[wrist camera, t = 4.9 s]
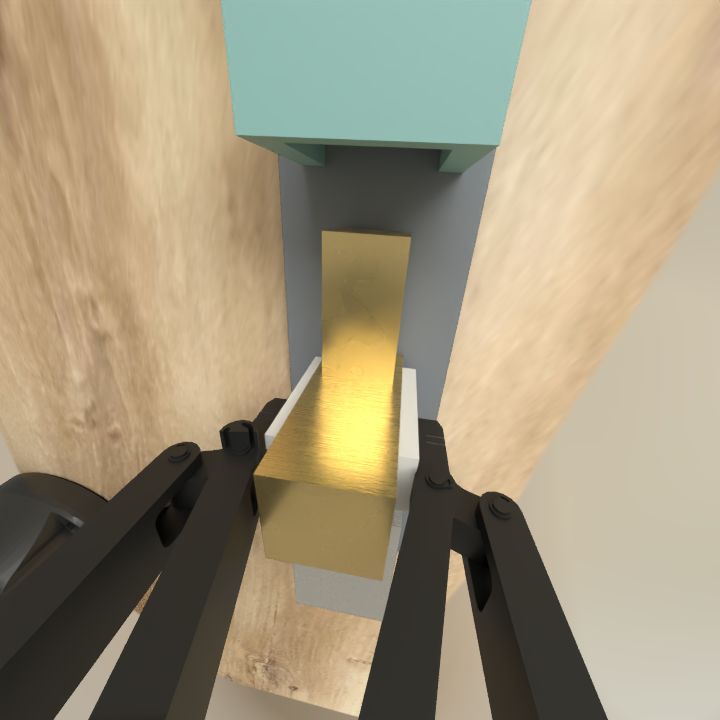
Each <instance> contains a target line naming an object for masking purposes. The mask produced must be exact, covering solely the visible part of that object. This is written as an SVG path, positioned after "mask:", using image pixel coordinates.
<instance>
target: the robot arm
mask: <svg viewBox="0 0 720 720" xmlns="http://www.w3.org/2000/svg"><path fill="white" fill-rule="evenodd" d="M321 360H322V357H315V358H314V360H313V361H312V363H311V364H310V366H309V367H308V369H307V371H306V372H305V374H304V375H303V377H302V378H301V380H300V381H299V383H298V384H297V386H296V387H295V389H294V390H293V392H292V393H291V395H290V397H289V398H288V400H286V399H279V398H275V399H273V400H271V401H270V402H268V403H267V404H266V405H265V406H264V408H263V409H262V410H261V412H260V413H259V414H258V416H257V418H255V420H254V421H253V422H251V421H246V420H240V421H234V422H231V423H229V424H227V425H226V426H224V427H223V428H222V429H221V430H220V431H219V432H220V437H221V442H222V448H223V449H220V450H212V451H200V448H199V446H198V445H197V444H195V443H193V442H182V443H177V444H175V445H173V446H170V447H169V448H167V449H166V450H164V451H163V452H162V453H161V454H160V455H159V456H158V457H156V458H155V459H154V460H153V461H152V462H151V463H150V464H149V465H148V466H147V467H146V468H144V469H143V470H142V471H141V472H140V473H139V474H138V475H137V476H136V477H135V478H134V479H133V480H131V481H130V482H129V483H128V484H127V485H126V486H125V487H124V488H123V489H122V490H121V491H119V492H118V493H117V494H116V495H115V496H114V497H113V498H112V499H111V500H110V501H109V502H106V501H105V500H103V499H102V498H100V497H99V496H97V495H96V494H94V493H92V492H91V491H89V490H87V489H85V488H83V487H81V486H79V485H77V484H74V483H72V482H70V481H67V480H64V479H61V478H58V477H55V476H51V475H46V474H40V473H23V474H19V475H16V476H14V477H13V478H11V479H9V480H8V481H6V482H5V483H3V484H2V485H0V720H54V718H55V717H56V715H57V714H58V713H59V711H60V710H61V708H62V707H63V706H64V704H65V703H66V702H67V700H68V699H69V698H70V696H71V695H72V693H73V692H74V691H75V689H76V688H77V687H78V685H79V684H80V682H81V681H82V680H83V678H84V677H85V676H86V674H87V673H88V671H89V670H90V669H91V667H92V666H93V665H94V663H95V662H96V660H97V659H98V658H99V656H100V655H101V654H102V652H103V651H104V649H105V648H106V647H107V645H108V644H109V643H110V641H111V640H112V638H113V637H114V636H115V634H116V633H117V632H118V630H119V629H120V627H121V626H122V625H123V623H124V622H125V621H126V619H127V618H128V616H129V615H130V614H131V612H132V611H133V610H134V608H135V607H136V605H137V604H138V603H139V601H140V600H141V599H142V597H143V596H144V594H145V593H146V592H147V590H148V589H149V588H150V586H151V585H152V584H153V582H154V581H155V579H156V578H157V577H158V575H159V574H160V573H161V574H160V576H159V578H158V580H157V582H156V584H155V586H154V588H153V590H152V592H151V594H150V596H149V598H148V600H147V602H146V604H145V606H144V608H143V611H142V613H141V615H140V617H139V619H138V621H137V623H136V625H135V627H134V629H133V631H132V633H131V635H130V637H129V639H128V641H127V643H126V645H125V647H124V649H123V651H122V653H121V655H120V657H119V659H118V661H117V663H116V665H115V667H114V669H113V671H112V673H111V675H110V677H109V679H108V681H107V683H106V685H105V687H104V689H103V691H102V693H101V695H100V697H99V699H98V702H97V703H96V705H95V707H94V709H93V711H92V714H91V715H90V718H89V719H88V720H204V719H205V716H206V713H207V709H208V705H209V701H210V698H211V693H212V690H213V686H214V683H215V679H216V675H217V672H218V668H219V664H220V660H221V657H222V653H223V649H224V645H225V642H226V638H227V634H228V631H229V627H230V623H231V619H232V616H233V612H234V608H235V604H236V601H237V597H238V593H239V590H240V586H241V582H242V578H243V575H244V571H245V567H246V563H247V560H248V556H249V552H250V549H251V545H252V541H253V537H254V534H255V530H256V526H257V522H258V519H259V509H258V503H257V496H256V489H255V483H254V476H253V474H254V472H255V470H256V469H257V467H258V465H259V464H260V462H261V460H262V459H263V457H264V455H265V454H266V452H267V450H268V449H269V447H270V445H271V444H272V442H273V440H274V439H275V437H276V435H277V434H278V432H279V430H280V429H281V427H282V425H283V424H284V422H285V420H286V419H287V417H288V415H289V414H290V412H291V410H292V409H293V407H294V405H295V404H296V402H297V400H298V399H299V397H300V395H301V394H302V392H303V390H304V389H305V387H306V385H307V384H308V382H309V380H310V379H311V377H312V375H313V374H314V372H315V370H316V369H317V367H318V365H319V364H320V362H321ZM409 505H410V510H409ZM395 509H397V510H403V511H408V510H409V514H408V518H407V522H406V526H405V530H404V534H403V538H402V542H401V547H400V551H399V555H398V559H397V563H396V567H395V571H394V575H393V579H392V583H391V588H390V592H389V596H388V600H387V604H386V608H385V612H384V616H383V620H382V624H381V629H380V633H379V637H378V641H377V645H376V649H375V653H374V657H373V661H372V665H371V670H370V674H369V678H368V682H367V686H366V690H365V694H364V698H363V702H362V706H361V711H360V715H359V719H358V720H435V712H436V700H437V690H438V679H439V668H440V657H441V645H442V635H443V624H444V613H445V602H446V591H447V580H448V569H449V558H450V549H452V550H454V551H455V552H457V553H459V554H461V555H462V558H463V564H464V569H465V574H466V580H467V585H468V590H469V596H470V601H471V606H472V612H473V617H474V622H475V628H476V633H477V639H478V644H479V649H480V655H481V660H482V665H483V671H484V676H485V682H486V687H487V692H488V697H489V703H490V708H491V713H492V718H493V720H608V719H607V717H606V714H605V711H604V709H603V707H602V704H601V702H600V699H599V697H598V695H597V692H596V690H595V687H594V685H593V682H592V680H591V678H590V675H589V673H588V670H587V668H586V666H585V663H584V661H583V658H582V656H581V653H580V651H579V649H578V646H577V644H576V641H575V639H574V637H573V634H572V632H571V629H570V627H569V625H568V622H567V620H566V617H565V615H564V612H563V610H562V608H561V605H560V603H559V600H558V598H557V595H556V593H555V591H554V588H553V586H552V584H551V581H550V579H549V576H548V574H547V571H546V569H545V566H544V564H543V562H542V559H541V557H540V554H539V552H538V550H537V547H536V545H535V542H534V540H533V537H532V535H531V533H530V530H529V528H528V526H527V523H526V521H525V518H524V516H523V513H522V512H521V510H520V508H519V506H518V505H517V504H516V503H515V502H514V501H513V500H512V499H511V498H509V497H507V496H506V495H504V494H501V493H498V492H486V493H484V494H482V496H481V497H480V496H477V495H475V494H473V493H470V492H468V491H466V490H464V489H463V488H461V487H460V486H459V485H457V484H456V483H455V480H454V479H453V477H452V476H451V475H450V472H449V466H448V460H447V453H446V447H445V440H444V434H443V428H442V427H441V426H440V424H439V423H438V421H436V420H429V419H422V418H418V413H417V387H416V369H410V368H403V369H402V390H401V411H400V431H399V452H398V473H397V494H396V503H395ZM161 571H162V572H161Z"/></svg>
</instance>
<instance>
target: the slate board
mask: <svg viewBox="0 0 720 720" xmlns="http://www.w3.org/2000/svg"><path fill="white" fill-rule="evenodd" d="M495 151H496V148H495V149H494V150H492V151H491V152H490V153H488V154H487V155H486V156H484V157H483V158H482V159H480V160H479V161H478V162H477V163H475V164H474V165H473V166H471V167H470V168H469V169H467V170H466V171H465V172H463V173H453V172H438V168H439V162H440V155H441V149H424V148H399V147H375V146H350V145H326V144H325V166H310V165H301V164H299V163H297V162H295V161H293V160H290V159H288V158H286V157H284V156H281V155H279V154H278V161H279V178H280V196H281V214H282V231H283V249H284V266H285V284H286V302H287V319H288V337H289V354H290V372H291V390H292V392H293V390H294V389H295V387H296V386H297V384H298V383H299V381H300V380H301V378H302V377H303V375H304V374H305V372H306V371H307V369H308V367H309V366H310V364H311V363H312V361H313V360H314V358H315V357H322V231H323V230H328V229H333V228H338V227H347V228H361V229H375V230H389V231H403V232H411V243H410V251H409V259H408V267H407V274H406V282H405V290H404V298H403V306H402V314H401V322H400V330H399V338H398V346H397V353H396V354H403V368H410V369H416V387H417V413H418V418H422V419H429V420H436V419H437V415H438V410H439V406H440V401H441V397H442V392H443V388H444V383H445V379H446V374H447V369H448V365H449V360H450V356H451V351H452V347H453V342H454V338H455V333H456V329H457V324H458V319H459V315H460V310H461V306H462V301H463V297H464V292H465V288H466V283H467V279H468V274H469V269H470V265H471V260H472V256H473V251H474V247H475V242H476V238H477V233H478V229H479V224H480V219H481V215H482V210H483V206H484V201H485V197H486V192H487V188H488V183H489V179H490V174H491V169H492V165H493V160H494V156H495ZM409 510H410V505H409ZM409 510H408V511H403V510H402V526H401V533H400V538H399V544H398V549H397V551H400V547H401V542H402V538H403V534H404V530H405V526H406V522H407V518H408V514H409Z"/></svg>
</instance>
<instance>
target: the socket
mask: <svg viewBox="0 0 720 720" xmlns="http://www.w3.org/2000/svg"><path fill="white" fill-rule="evenodd" d="M531 1H532V0H221V6H222V16H223V25H224V34H225V43H226V52H227V62H228V71H229V80H230V89H231V98H232V108H233V117H234V126H235V135H237V136H239V137H241V138H243V139H246V140H248V141H250V142H252V143H255V144H257V145H259V146H261V147H264V148H266V149H268V150H270V151H272V152H275V153H277V154H279V155H281V156H284V157H286V158H288V159H290V160H293V161H295V162H297V163H299V164H301V165H310V166H325V144H326V145H350V146H375V147H399V148H424V149H441V155H440V162H439V168H438V172H453V173H463V172H465V171H466V170H467V169H469V168H470V167H471V166H473V165H474V164H475V163H477V162H478V161H479V160H480V159H482V158H483V157H484V156H486V155H487V154H488V153H490V152H491V151H492V150H494V149H495V148H496V147H498V146H499V144H500V140H501V135H502V131H503V126H504V122H505V117H506V113H507V108H508V104H509V100H510V95H511V91H512V86H513V82H514V77H515V73H516V68H517V64H518V59H519V55H520V50H521V46H522V41H523V37H524V32H525V28H526V23H527V19H528V14H529V10H530V5H531Z"/></svg>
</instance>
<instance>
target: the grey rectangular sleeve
mask: <svg viewBox="0 0 720 720" xmlns="http://www.w3.org/2000/svg"><path fill="white" fill-rule="evenodd" d="M401 526H402V510H397V509H394V515H393V521H392V527H391V533H390V539H389V545H388V551H387V557H386V563H385V569H384V575H383V581H378V580H373V579H368V578H363V577H358V576H354V575H349V574H344V573H339V572H334V571H329V570H324V569H319V568H314V567H309V566H304V565H299V564H294V563H293V566H294V579H295V592H296V603H300V604H304V605H309V606H313V607H318V608H323V609H327V610H332V611H337V612H341V613H346V614H350V615H355V616H360V617H364V618H369V619H374V620H378V621H382V620H383V616H384V612H385V608H386V604H387V600H388V595H389V590H390V585H391V580H392V575H393V570H394V564H395V559H396V554H397V549H398V544H399V538H400V533H401Z"/></svg>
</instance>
